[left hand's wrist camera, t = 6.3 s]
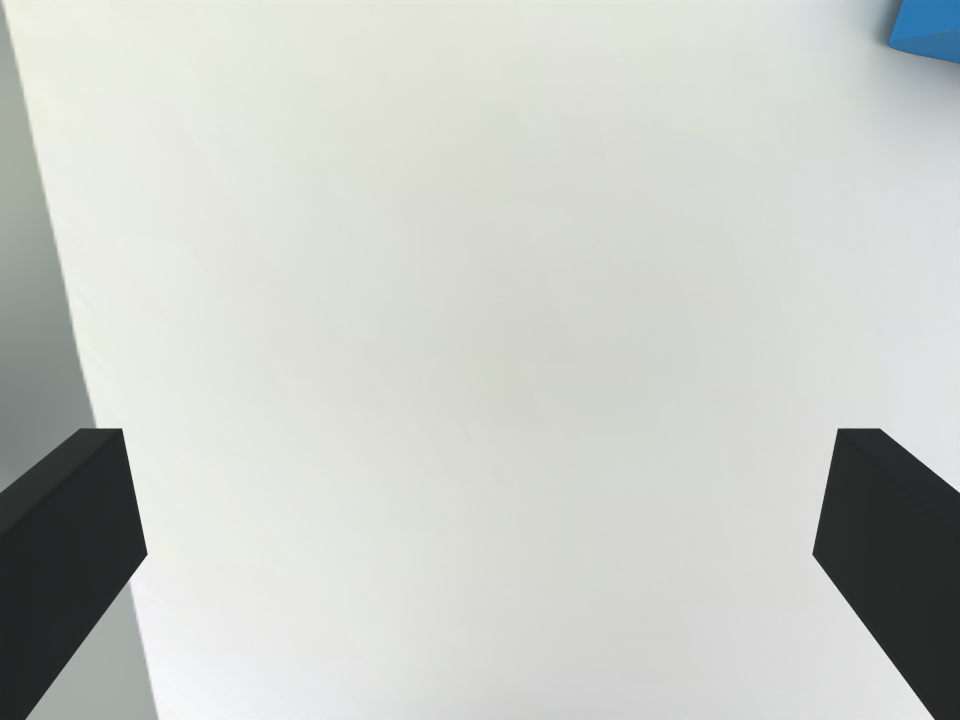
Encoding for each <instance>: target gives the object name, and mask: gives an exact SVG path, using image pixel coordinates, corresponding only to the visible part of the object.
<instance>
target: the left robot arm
mask: <svg viewBox="0 0 960 720" xmlns="http://www.w3.org/2000/svg"><path fill="white" fill-rule="evenodd" d="M147 555H148V554H147V549H146V544H145V539H144V534H143V529H142V524H141V520H140V515H139V510H138V505H137V500H136V495H135V490H134V485H133V480H132V475H131V470H130V465H129V460H128V456H127V451H126V446H125V441H124V436H123V431H122V429H79V430H78V431H77V432H75V433H74V434H73V435H72V436H70V437H69V438H68V439H67V440H65V441H64V442H63V443H62V444H60V445H59V446H58V447H57V448H55V449H54V450H53V451H52V452H51V453H49V454H48V455H47V456H46V457H44V458H43V459H42V460H41V461H39V462H38V463H37V464H36V465H34V466H33V467H32V468H31V469H30V470H28V471H27V472H26V473H25V474H23V475H22V476H21V477H20V478H18V479H17V480H16V481H15V482H13V483H12V484H11V485H10V486H8V487H7V488H6V489H5V490H3V491H2V492H1V493H0V720H25V719H26V718H27V717H28V715H29V714H30V713H31V711H32V710H33V708H34V707H35V706H36V704H37V703H38V702H39V700H40V699H41V698H42V696H43V695H44V694H45V692H46V691H47V690H48V688H49V687H50V686H51V684H52V683H53V681H54V680H55V679H56V677H57V676H58V675H59V673H60V672H61V671H62V669H63V668H64V667H65V665H66V664H67V663H68V661H69V660H70V659H71V657H72V656H73V655H74V653H75V652H76V650H77V649H78V648H79V646H80V645H81V644H82V642H83V641H84V640H85V638H86V637H87V636H88V634H89V633H90V631H91V630H92V629H93V628H94V626H95V625H96V623H97V622H98V621H99V619H100V618H101V617H102V615H103V614H104V613H105V611H106V610H107V609H108V607H109V606H110V605H111V603H112V602H113V600H114V599H115V598H116V596H117V595H118V594H119V592H120V591H121V590H122V588H123V587H124V586H125V584H126V583H127V582H128V580H129V579H130V578H131V576H132V575H133V574H134V572H135V571H136V569H137V568H138V567H139V565H140V564H141V563H142V561H143V560H144V559H145V557H146V556H147ZM812 555H813V556H814V557H815V559H816V560H817V561H818V563H819V564H820V565H821V567H822V568H823V569H824V571H825V572H826V574H827V575H828V576H829V578H830V579H831V580H832V582H833V583H834V584H835V586H836V587H837V588H838V590H839V591H840V592H841V594H842V595H843V596H844V598H845V599H846V601H847V602H848V603H849V605H850V606H851V607H852V609H853V610H854V611H855V613H856V614H857V615H858V617H859V618H860V619H861V621H862V622H863V623H864V625H865V626H866V628H867V629H868V630H869V632H870V633H871V634H872V636H873V637H874V638H875V640H876V641H877V642H878V644H879V645H880V646H881V648H882V649H883V650H884V652H885V653H886V655H887V656H888V657H889V659H890V660H891V661H892V663H893V664H894V665H895V667H896V668H897V669H898V671H899V672H900V673H901V675H902V676H903V677H904V679H905V680H906V682H907V683H908V684H909V686H910V687H911V688H912V690H913V691H914V692H915V694H916V695H917V696H918V698H919V699H920V700H921V702H922V703H923V704H924V706H925V707H926V709H927V710H928V711H929V713H930V714H931V715H932V717H933V718H934V719H935V720H960V493H959V492H958V491H957V490H955V489H954V488H953V487H952V486H950V485H949V484H948V483H947V482H945V481H944V480H943V479H942V478H940V477H939V476H938V475H937V474H935V473H934V472H933V471H932V470H931V469H929V468H928V467H927V466H926V465H924V464H923V463H922V462H921V461H919V460H918V459H917V458H916V457H914V456H913V455H912V454H911V453H909V452H908V451H907V450H906V449H905V448H903V447H902V446H901V445H900V444H898V443H897V442H896V441H895V440H893V439H892V438H891V437H890V436H888V435H887V434H886V433H885V432H883V431H882V430H881V429H838V431H837V436H836V441H835V446H834V451H833V456H832V460H831V465H830V470H829V475H828V480H827V485H826V490H825V495H824V500H823V505H822V510H821V515H820V520H819V524H818V529H817V534H816V539H815V544H814V549H813V554H812Z"/></svg>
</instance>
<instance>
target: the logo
mask: <svg viewBox="0 0 960 720" xmlns="http://www.w3.org/2000/svg"><path fill="white" fill-rule="evenodd" d="M888 45H889V46H890V47H892V48H894V49H897V50H900V51H903V52H907V53H912V54H917V55H922V56H927V57H932V58H937V59H942V60H947V61H952V62H957V63H960V0H903V2H902V5H901V8H900V11H899V13H898V16H897V19H896V22H895V25H894V28H893V31H892V33H891V36H890V39H889V42H888Z"/></svg>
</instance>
